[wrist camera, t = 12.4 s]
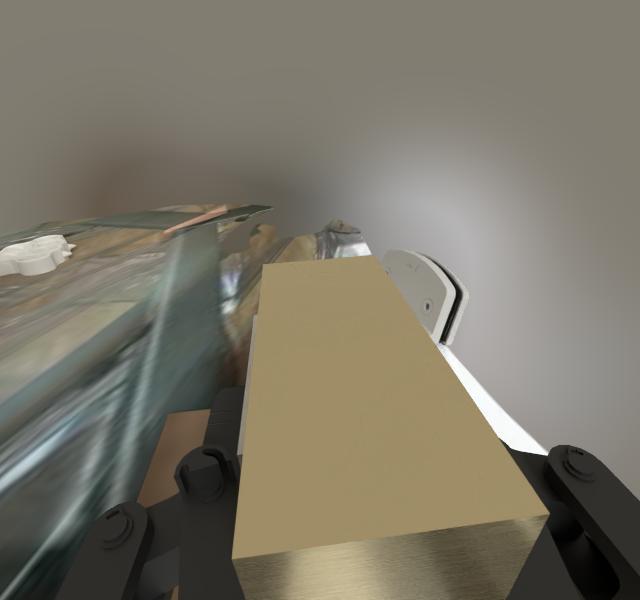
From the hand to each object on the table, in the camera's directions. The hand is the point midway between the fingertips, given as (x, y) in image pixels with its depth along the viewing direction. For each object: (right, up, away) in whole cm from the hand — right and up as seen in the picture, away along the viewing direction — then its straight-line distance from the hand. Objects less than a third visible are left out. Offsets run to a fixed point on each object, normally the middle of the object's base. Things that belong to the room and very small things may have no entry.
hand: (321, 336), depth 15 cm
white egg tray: (-62, +10, +59) cm, 86 cm away
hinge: (+13, -1, +34) cm, 37 cm away
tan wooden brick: (+1, -8, -2) cm, 8 cm away
